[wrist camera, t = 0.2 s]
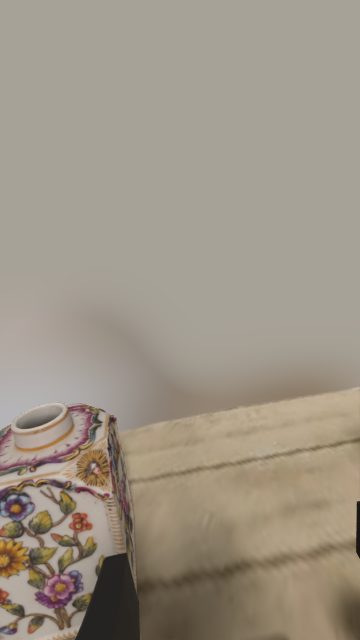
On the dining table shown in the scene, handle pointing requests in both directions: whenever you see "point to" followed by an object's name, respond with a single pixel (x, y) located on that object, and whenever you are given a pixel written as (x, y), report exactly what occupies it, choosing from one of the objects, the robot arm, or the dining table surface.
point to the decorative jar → (59, 517)
